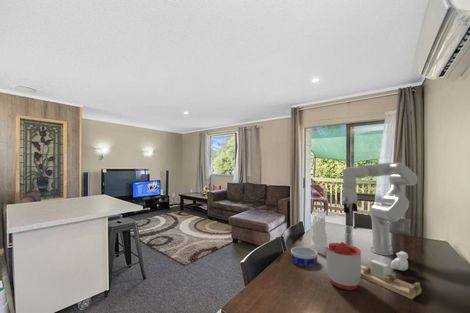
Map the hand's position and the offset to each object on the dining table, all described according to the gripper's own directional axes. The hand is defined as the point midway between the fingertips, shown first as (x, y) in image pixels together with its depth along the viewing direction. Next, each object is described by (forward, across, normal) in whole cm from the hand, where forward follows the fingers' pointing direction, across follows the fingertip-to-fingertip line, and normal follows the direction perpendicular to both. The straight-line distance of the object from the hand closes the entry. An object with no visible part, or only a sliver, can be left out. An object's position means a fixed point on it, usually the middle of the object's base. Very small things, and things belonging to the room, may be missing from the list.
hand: (350, 212), depth 138 cm
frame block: (+26, +19, +24) cm, 40 cm away
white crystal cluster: (+28, +11, -17) cm, 34 cm away
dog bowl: (+28, +33, -12) cm, 45 cm away
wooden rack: (+28, +19, +24) cm, 41 cm away
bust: (+28, -4, +25) cm, 38 cm away
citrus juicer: (+28, +38, +15) cm, 50 cm away
